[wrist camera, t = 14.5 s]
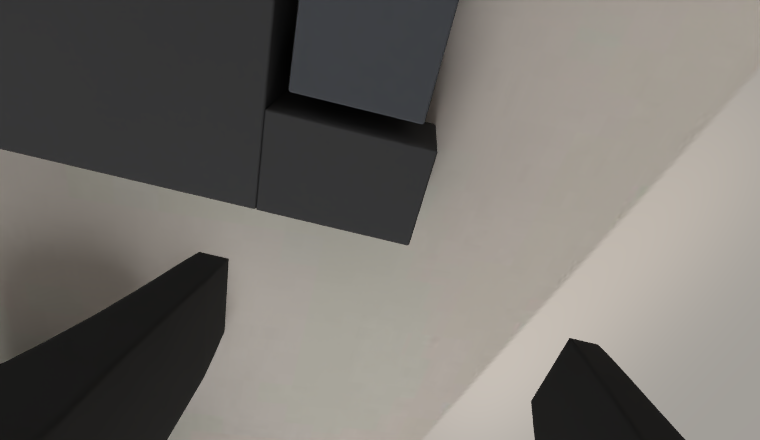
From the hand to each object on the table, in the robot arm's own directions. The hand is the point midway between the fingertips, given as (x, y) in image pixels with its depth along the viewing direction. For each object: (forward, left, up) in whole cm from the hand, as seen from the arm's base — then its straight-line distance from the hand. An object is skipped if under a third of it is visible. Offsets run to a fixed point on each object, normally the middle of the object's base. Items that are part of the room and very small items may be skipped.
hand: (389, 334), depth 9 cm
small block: (+4, -3, -10) cm, 12 cm away
